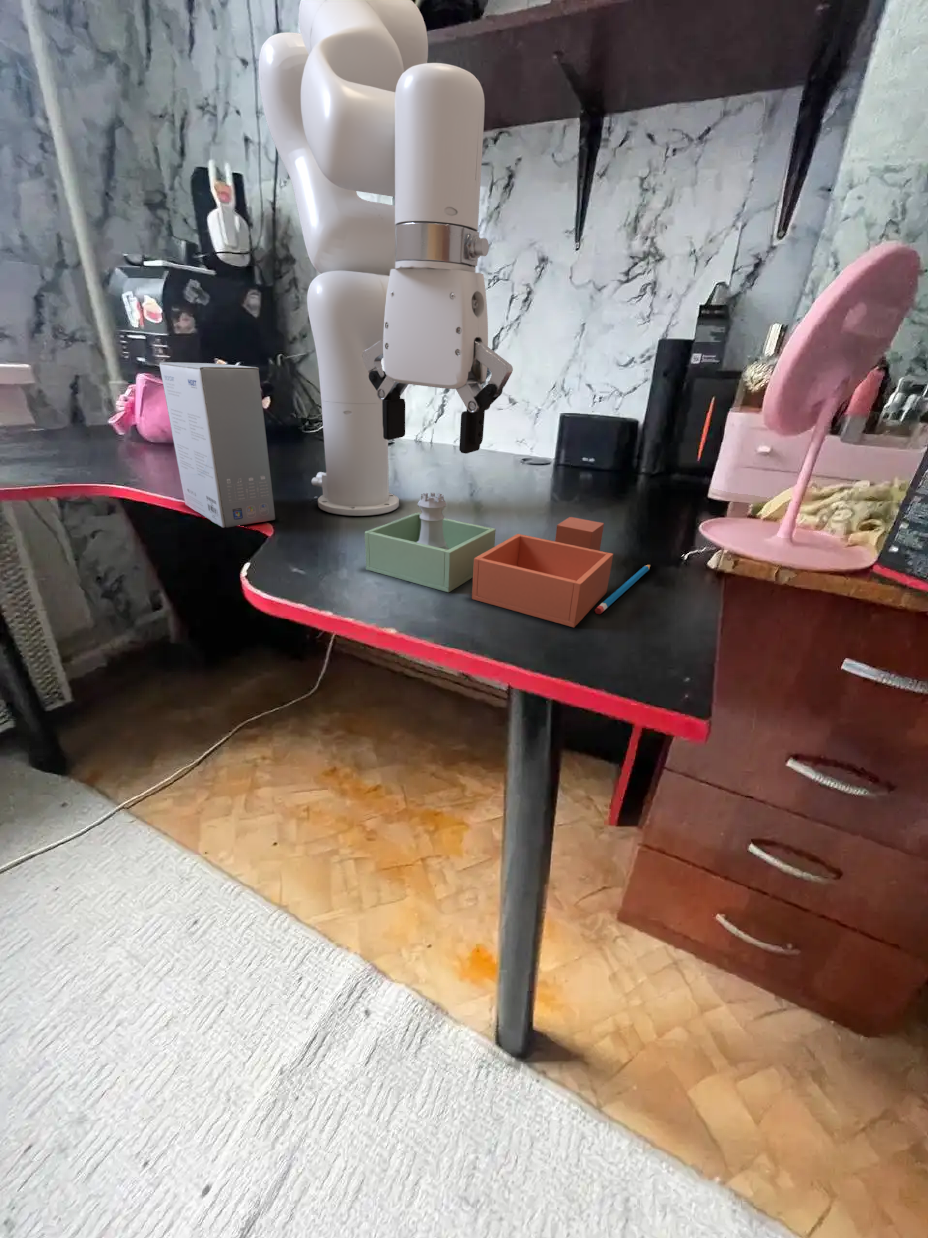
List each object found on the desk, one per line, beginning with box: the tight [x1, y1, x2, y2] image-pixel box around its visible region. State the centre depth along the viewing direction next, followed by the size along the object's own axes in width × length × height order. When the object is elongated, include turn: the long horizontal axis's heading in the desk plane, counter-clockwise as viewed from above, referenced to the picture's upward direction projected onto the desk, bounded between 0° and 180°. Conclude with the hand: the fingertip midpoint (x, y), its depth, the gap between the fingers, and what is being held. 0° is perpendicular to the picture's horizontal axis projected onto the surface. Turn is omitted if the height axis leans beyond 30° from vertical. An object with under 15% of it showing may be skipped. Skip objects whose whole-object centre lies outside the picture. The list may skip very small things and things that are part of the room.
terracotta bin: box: [471, 533, 614, 628], centre depth 57 cm, size 11×10×4 cm
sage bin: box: [364, 512, 497, 593], centre depth 63 cm, size 11×10×4 cm
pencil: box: [594, 564, 651, 615], centre depth 61 cm, size 1×17×1 cm, turn 146°
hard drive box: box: [158, 361, 276, 529], centre depth 76 cm, size 16×8×20 cm, turn 43°
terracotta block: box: [554, 516, 605, 551], centre depth 68 cm, size 4×4×4 cm
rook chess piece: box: [417, 492, 449, 550], centre depth 62 cm, size 4×4×8 cm
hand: (430, 444), depth 59 cm, fingers open, 9 cm apart
